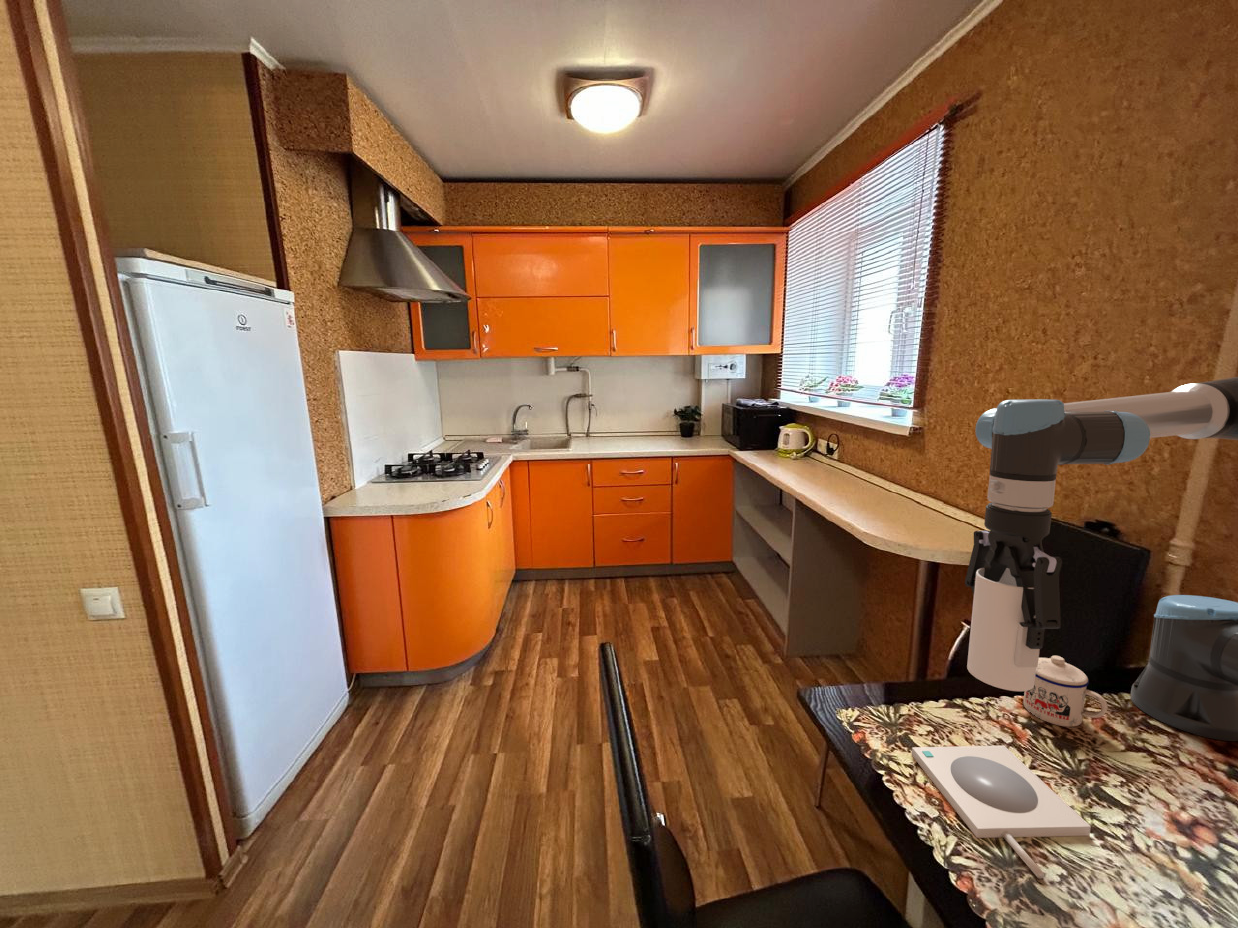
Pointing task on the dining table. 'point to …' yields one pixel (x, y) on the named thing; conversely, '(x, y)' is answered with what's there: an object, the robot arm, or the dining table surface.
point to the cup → (997, 634)
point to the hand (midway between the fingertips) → (1002, 649)
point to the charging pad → (999, 795)
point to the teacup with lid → (1060, 693)
